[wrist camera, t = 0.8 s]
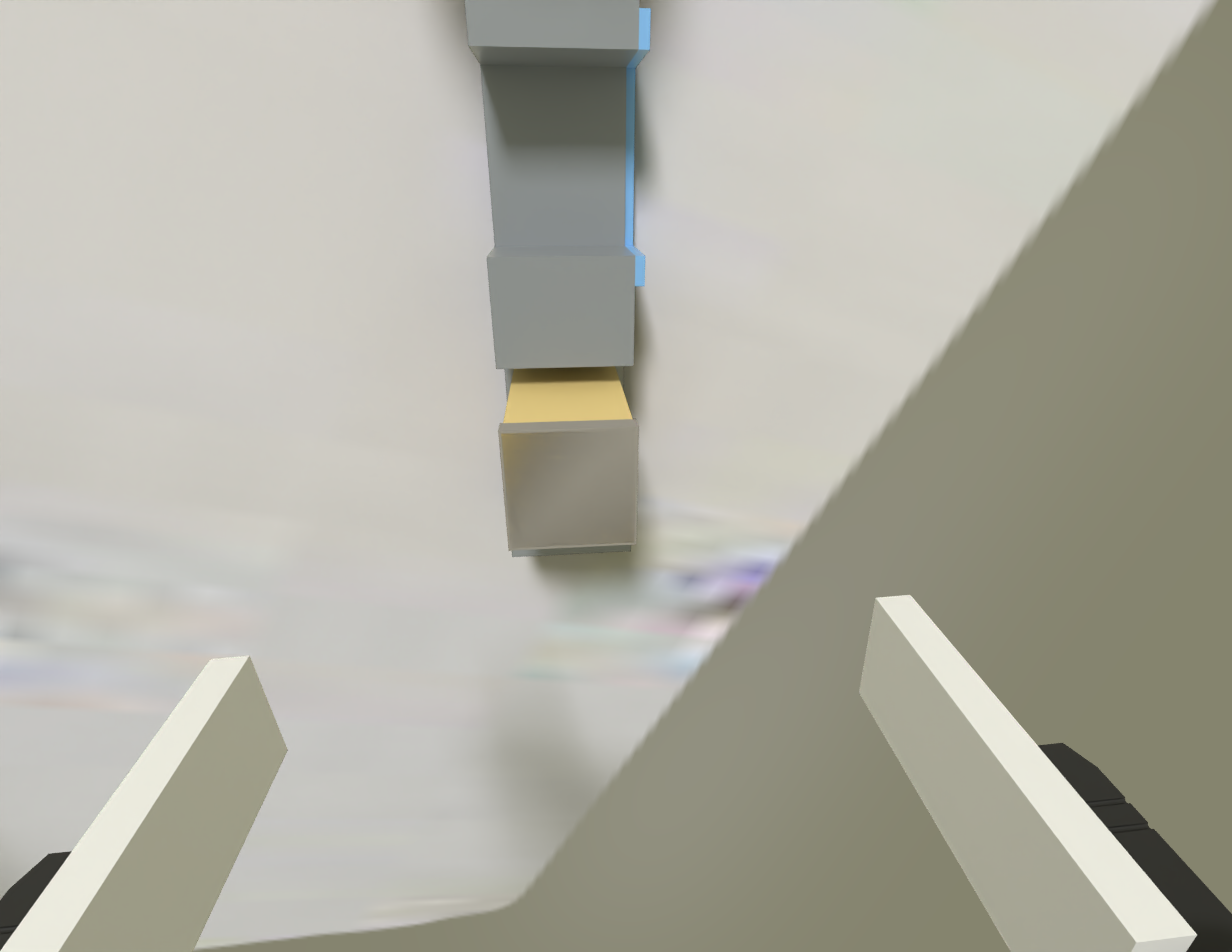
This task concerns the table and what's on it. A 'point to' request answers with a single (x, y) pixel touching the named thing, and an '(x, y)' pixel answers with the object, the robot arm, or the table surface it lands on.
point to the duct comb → (561, 182)
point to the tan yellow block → (569, 459)
